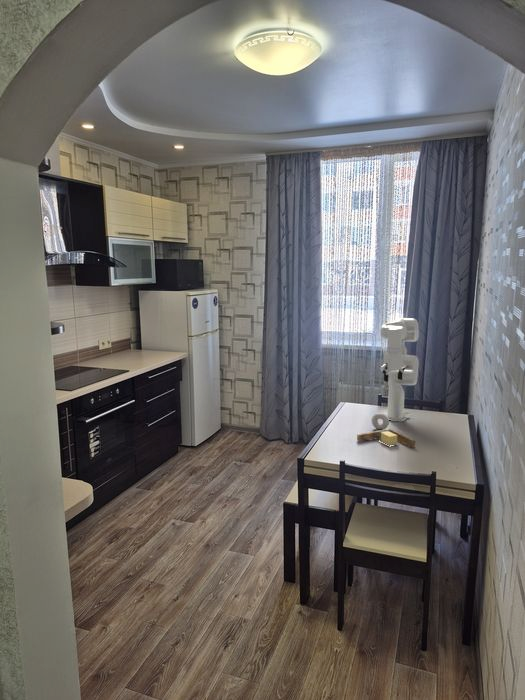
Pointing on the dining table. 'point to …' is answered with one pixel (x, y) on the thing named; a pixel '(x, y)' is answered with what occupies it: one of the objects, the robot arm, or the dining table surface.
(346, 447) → the dining table surface
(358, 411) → the dining table surface
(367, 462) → the dining table surface
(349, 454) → the dining table surface
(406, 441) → the tan wooden angled piece
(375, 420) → the donut
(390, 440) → the bar block
